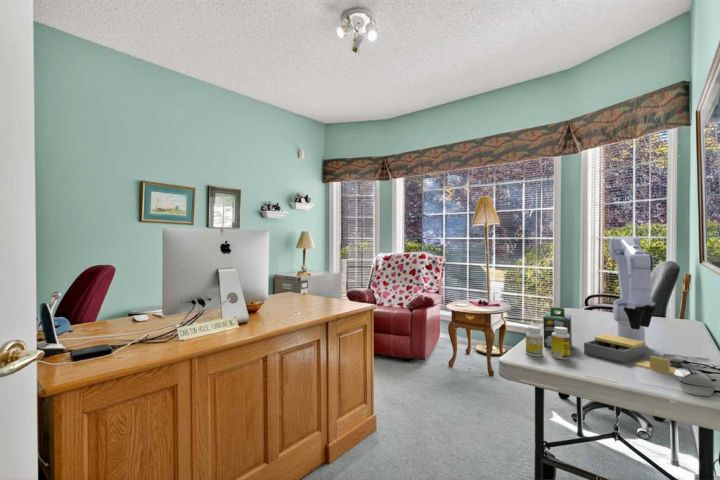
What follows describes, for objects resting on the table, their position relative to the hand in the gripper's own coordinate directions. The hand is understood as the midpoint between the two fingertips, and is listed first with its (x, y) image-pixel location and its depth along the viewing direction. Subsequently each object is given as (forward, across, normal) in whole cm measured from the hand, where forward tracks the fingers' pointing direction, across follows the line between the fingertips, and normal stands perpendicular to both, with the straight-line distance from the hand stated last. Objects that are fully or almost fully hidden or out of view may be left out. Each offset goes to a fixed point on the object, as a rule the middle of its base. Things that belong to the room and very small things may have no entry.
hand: (640, 327), depth 120 cm
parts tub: (+10, -4, +6) cm, 13 cm away
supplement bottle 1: (+11, -29, +21) cm, 37 cm away
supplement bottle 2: (+11, -24, +14) cm, 30 cm away
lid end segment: (+11, -7, -8) cm, 16 cm away
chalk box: (+11, -10, +23) cm, 27 cm away
